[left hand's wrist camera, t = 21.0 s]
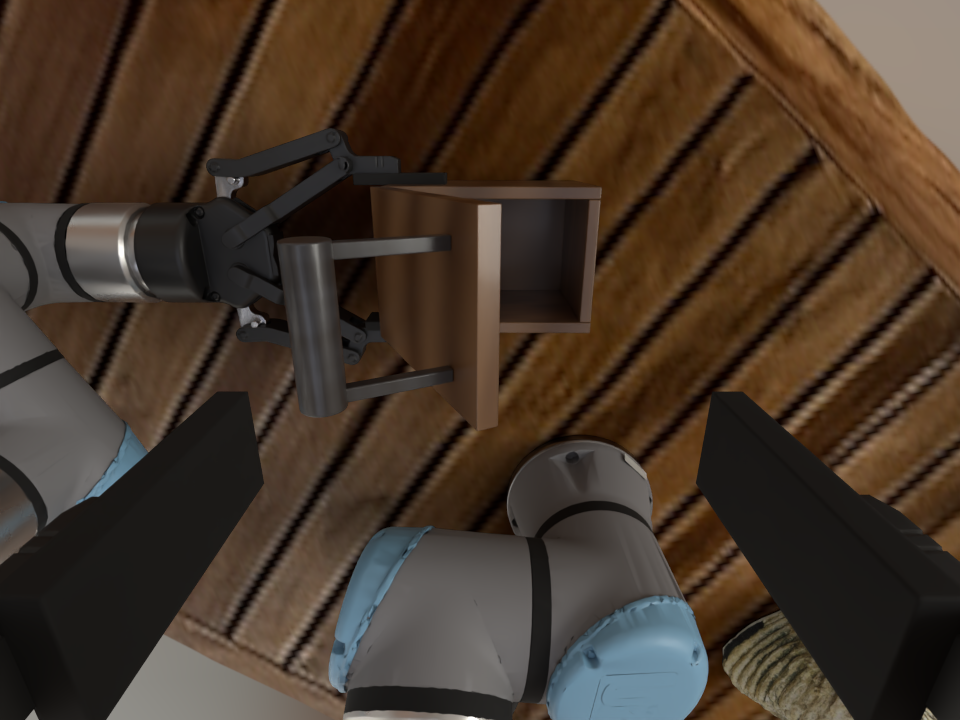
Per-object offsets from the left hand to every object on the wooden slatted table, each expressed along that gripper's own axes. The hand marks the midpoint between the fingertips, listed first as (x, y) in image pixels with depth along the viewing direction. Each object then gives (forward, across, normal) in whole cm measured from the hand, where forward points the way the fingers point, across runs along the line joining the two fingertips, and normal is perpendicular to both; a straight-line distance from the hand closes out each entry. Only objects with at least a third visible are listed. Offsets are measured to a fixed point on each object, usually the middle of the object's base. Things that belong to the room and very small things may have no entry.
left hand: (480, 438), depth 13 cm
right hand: (+28, +2, 0) cm, 28 cm away
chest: (+35, -1, 0) cm, 35 cm away
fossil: (+35, -38, +46) cm, 70 cm away
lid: (+17, +3, 0) cm, 17 cm away
